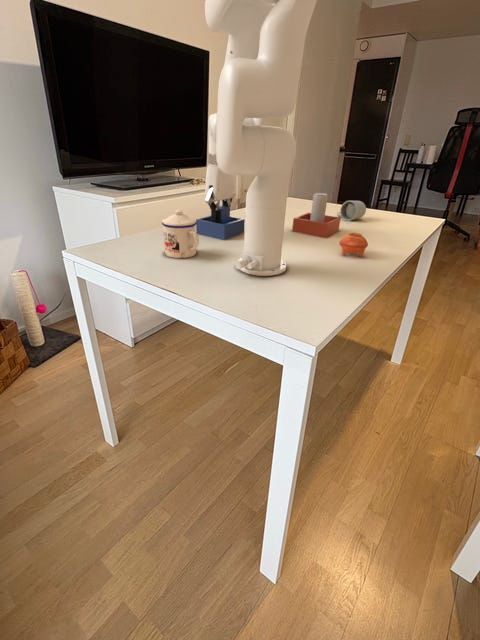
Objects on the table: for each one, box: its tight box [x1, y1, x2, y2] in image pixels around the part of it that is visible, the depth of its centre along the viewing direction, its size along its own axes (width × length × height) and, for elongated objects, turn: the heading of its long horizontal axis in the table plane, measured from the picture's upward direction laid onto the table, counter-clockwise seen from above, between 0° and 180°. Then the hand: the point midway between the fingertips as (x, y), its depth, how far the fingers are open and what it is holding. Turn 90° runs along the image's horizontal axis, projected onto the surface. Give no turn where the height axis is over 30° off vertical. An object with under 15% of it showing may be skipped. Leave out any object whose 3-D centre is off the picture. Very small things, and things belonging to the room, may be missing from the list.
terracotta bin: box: [291, 212, 342, 239], centre depth 122 cm, size 13×13×5 cm
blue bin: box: [195, 215, 245, 241], centre depth 115 cm, size 12×12×5 cm
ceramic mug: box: [337, 200, 367, 222], centre depth 141 cm, size 11×8×8 cm
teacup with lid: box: [161, 209, 200, 259], centre depth 92 cm, size 12×9×12 cm
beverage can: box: [310, 192, 328, 223], centre depth 120 cm, size 5×5×12 cm
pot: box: [339, 232, 369, 258], centre depth 99 cm, size 8×8×7 cm
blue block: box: [219, 204, 231, 223], centre depth 113 cm, size 4×4×4 cm
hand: (220, 220), depth 114 cm, fingers closed on blue block, 4 cm apart
